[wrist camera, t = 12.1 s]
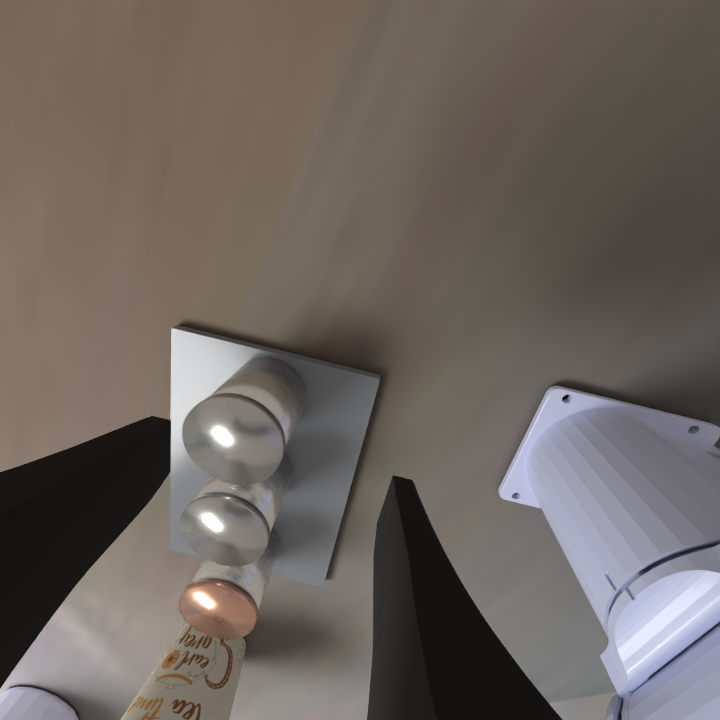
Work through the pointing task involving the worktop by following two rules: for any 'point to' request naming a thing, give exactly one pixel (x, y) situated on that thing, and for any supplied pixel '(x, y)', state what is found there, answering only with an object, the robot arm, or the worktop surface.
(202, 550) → the tin middle
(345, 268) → the worktop surface
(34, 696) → the soap bottle
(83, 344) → the worktop surface
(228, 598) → the cylinder
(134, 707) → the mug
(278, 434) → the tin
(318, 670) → the worktop surface
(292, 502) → the slate board
